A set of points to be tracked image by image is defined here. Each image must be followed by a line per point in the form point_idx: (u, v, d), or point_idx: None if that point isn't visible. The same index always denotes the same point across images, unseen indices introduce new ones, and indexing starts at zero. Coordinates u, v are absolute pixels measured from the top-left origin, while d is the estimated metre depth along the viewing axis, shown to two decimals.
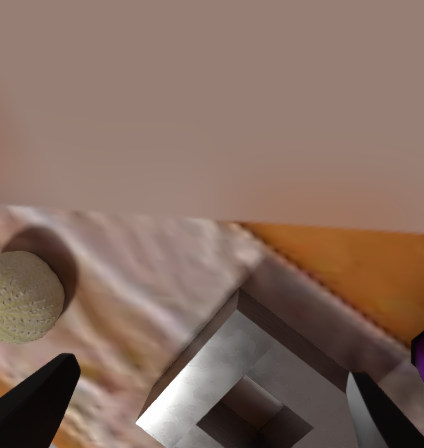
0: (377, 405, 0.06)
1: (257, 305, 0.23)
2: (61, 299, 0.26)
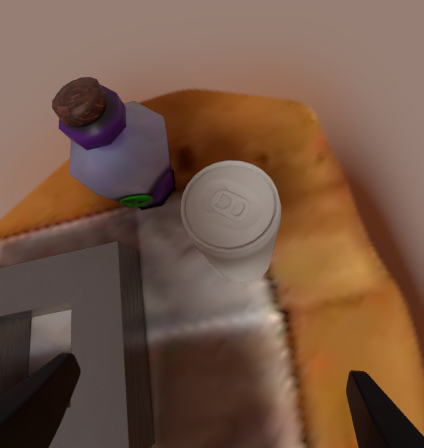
0: (377, 405, 0.06)
1: None
2: None
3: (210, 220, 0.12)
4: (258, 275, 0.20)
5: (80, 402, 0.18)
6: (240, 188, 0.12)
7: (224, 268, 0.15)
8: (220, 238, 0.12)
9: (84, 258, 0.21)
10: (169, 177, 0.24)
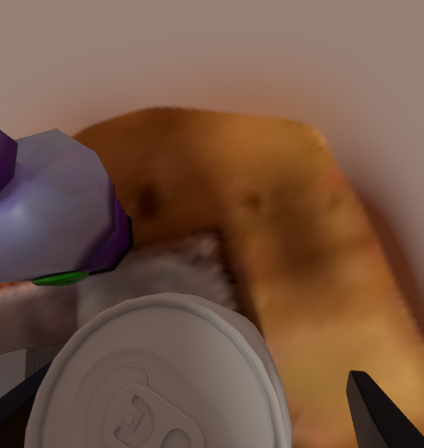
0: (377, 405, 0.06)
1: None
2: None
3: None
4: None
5: None
6: (182, 383, 0.05)
7: None
8: None
9: None
10: (117, 236, 0.16)
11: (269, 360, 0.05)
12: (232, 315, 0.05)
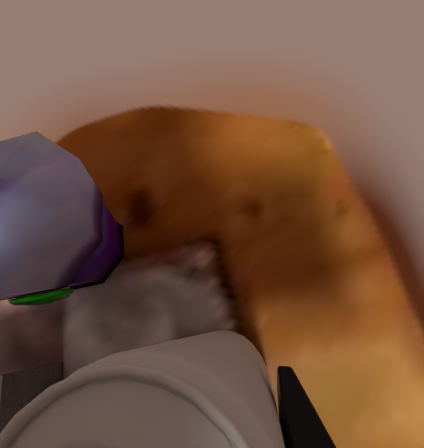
0: (291, 398, 0.07)
1: None
2: None
3: None
4: None
5: None
6: None
7: None
8: None
9: None
10: (105, 248, 0.15)
11: None
12: (226, 386, 0.04)
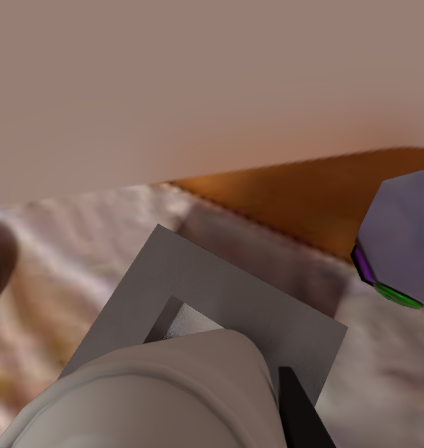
0: (291, 398, 0.07)
1: None
2: None
3: None
4: None
5: None
6: None
7: None
8: None
9: (297, 314, 0.17)
10: None
11: (276, 447, 0.04)
12: (228, 380, 0.04)
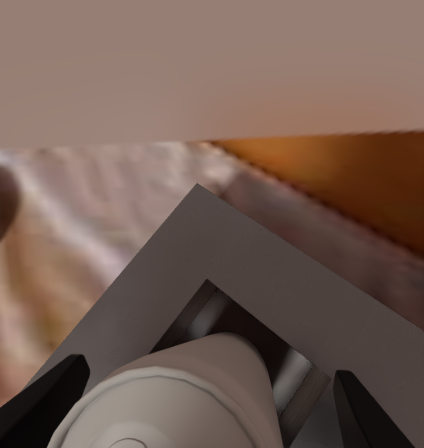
0: (360, 404, 0.06)
1: None
2: None
3: None
4: None
5: None
6: None
7: None
8: None
9: (394, 333, 0.11)
10: None
11: (271, 431, 0.05)
12: (233, 381, 0.05)
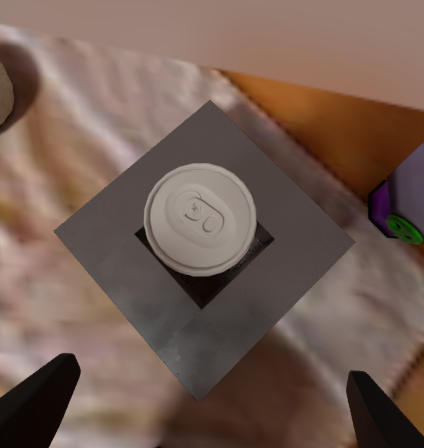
0: (377, 405, 0.06)
1: None
2: (8, 104, 0.23)
3: (177, 232, 0.11)
4: None
5: (210, 316, 0.18)
6: (216, 200, 0.11)
7: None
8: (185, 254, 0.10)
9: (317, 220, 0.19)
10: None
11: None
12: None
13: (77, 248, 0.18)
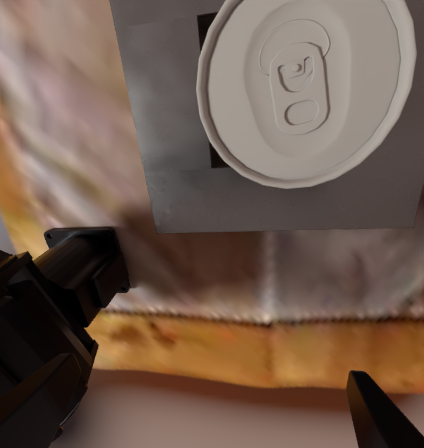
0: (377, 405, 0.06)
1: None
2: None
3: (246, 87, 0.06)
4: None
5: (215, 180, 0.15)
6: (343, 81, 0.06)
7: None
8: (233, 129, 0.06)
9: (407, 177, 0.14)
10: None
11: None
12: None
13: None
